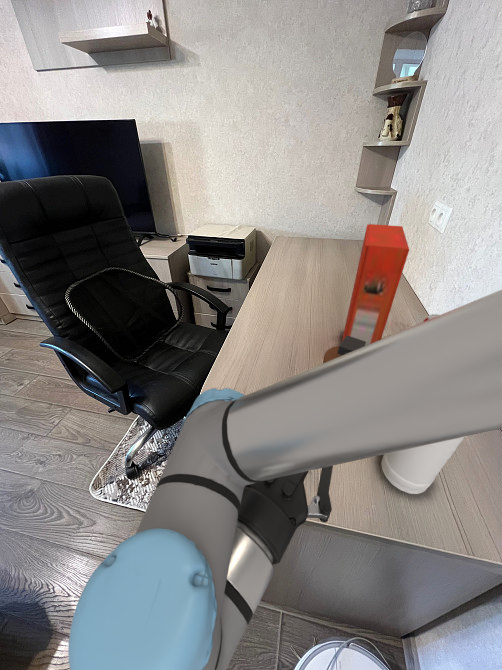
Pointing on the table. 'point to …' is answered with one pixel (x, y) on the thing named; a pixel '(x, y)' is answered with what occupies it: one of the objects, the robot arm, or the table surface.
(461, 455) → the table surface
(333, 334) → the table surface
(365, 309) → the file binder
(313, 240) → the table surface
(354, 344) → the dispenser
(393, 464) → the bottle
